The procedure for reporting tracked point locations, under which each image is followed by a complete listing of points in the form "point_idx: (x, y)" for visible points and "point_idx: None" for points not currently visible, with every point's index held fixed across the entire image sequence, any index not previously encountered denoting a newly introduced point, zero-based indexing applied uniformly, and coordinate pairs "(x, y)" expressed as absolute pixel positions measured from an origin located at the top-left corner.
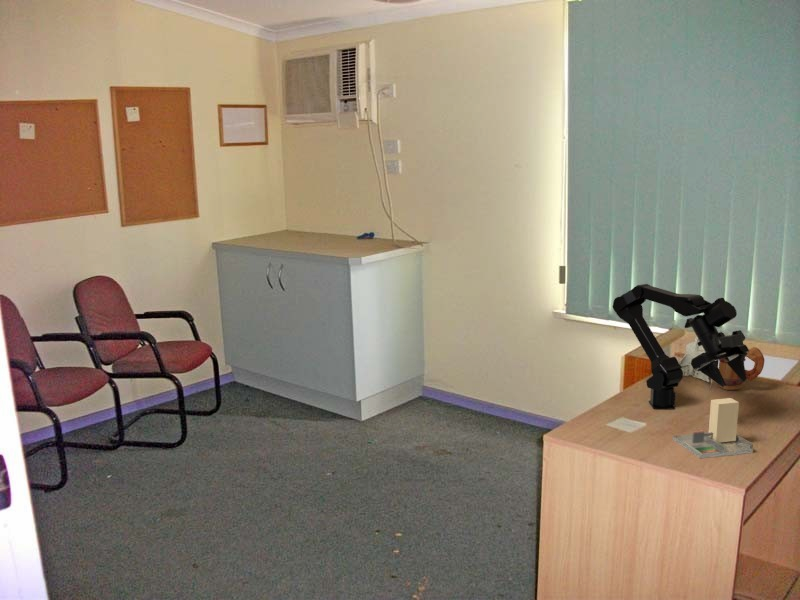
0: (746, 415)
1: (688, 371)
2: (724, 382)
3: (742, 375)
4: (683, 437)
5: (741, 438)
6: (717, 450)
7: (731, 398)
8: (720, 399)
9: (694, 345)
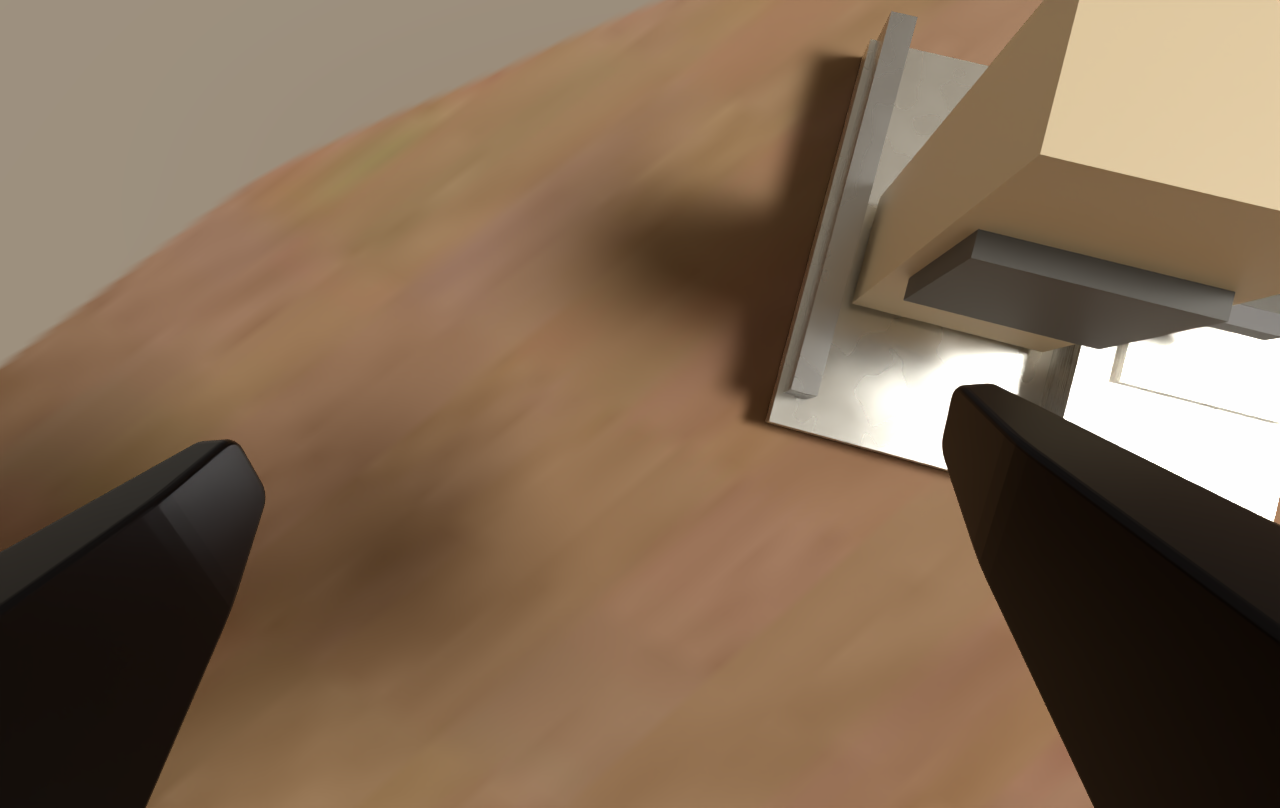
0: (235, 622)
1: None
2: (1010, 409)
3: (179, 541)
4: (1202, 486)
5: (878, 137)
6: None
7: (1046, 133)
8: (1270, 187)
9: None
